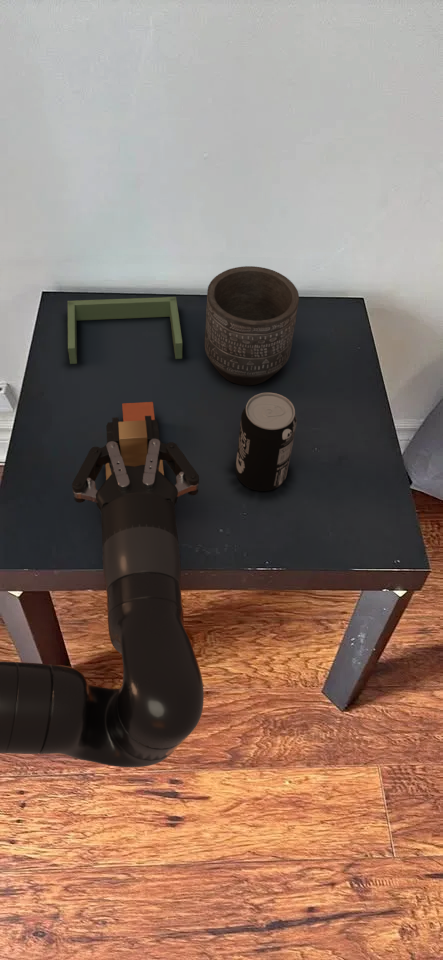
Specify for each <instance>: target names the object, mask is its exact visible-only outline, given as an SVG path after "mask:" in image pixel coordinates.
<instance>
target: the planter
mask: <svg viewBox="0 0 443 960" xmlns="http://www.w3.org/2000/svg"><path fill="white" fill-rule="evenodd" d="M206 293H207V294H206V308H205V309H206V310H205V311H206V312H205V327H204V328H205V329H204V351H205V354H206V356H207V358H208V360H209V361H210V363H211V364H212V366H213V367H214V368H215V370H217V372H218V373H219V374H220V375H221V377H223V378H224V379H226V380H227V381H228V382H231V383H233V384H236V385H240V386H257V385H260V384H261V383H264V382H267V380H270V378H272V377H274V375H275V374H277V373H278V372H279V371H280V370H282V369H283V368H284V366H285V365H286V364H287V362H288V361H289V359H290V356H291V352H292V346H293V340H294V339H293V338H294V333H295V329H296V321H297V315H298V308H299V302H300V295H299V294H300V293H299V291H298V288H297V287H296V285H295V284H294V283H293V282H292V280H290V278H288V277H287V276H285V275H283V274H282V273H280V272H278V271H276V270H273V269H270V268H266V267H262V266H254V265H253V266H251V265H249V266H248V265H245V266H236V267H233V268H229V269H227V270H224V271H222V272H220V273H219V274H217V275H216V276H214V277H213V278H212V280H211V281H210V283H209V285H208V286H207V292H206Z"/></svg>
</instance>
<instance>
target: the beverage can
mask: <svg viewBox="0 0 443 960" xmlns="http://www.w3.org/2000/svg"><path fill="white" fill-rule="evenodd" d="M297 425H298V418H297V415H296V410H295V406H294V403H292V401H291V400H290V399H288V398H287V397H286V396H285V395H282V394H279V393H276V392H260V393H258V394H255V395H254V396H252V397H251V398H249V399H248V401H247V403H246V405H245V406H244V408H243V409H242V412H241V415H240V425H239V431H238V432H239V433H238V442H237V451H236V460H235V461H236V462H235V474H236V477H237V479H238V480H239V481H240V482H241V483H242V484H243V485H244V486H245V487H247V488H248V489H251V490H254V491H257V492H266V491H267V492H268V491H272V490H275V489H277V488H279V487H280V486H281V485H283V484H284V482H285V480H286V478H287V475H288V470H289V466H290V460H291V456H292V450H293V445H294V441H295V435H296V429H297Z"/></svg>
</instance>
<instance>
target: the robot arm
mask: <svg viewBox="0 0 443 960" xmlns="http://www.w3.org/2000/svg"><path fill="white" fill-rule="evenodd" d="M111 420H112V421H111V422H107V424H106V426H105V427H106V444H105V445H104V446H102V447H99V446H93V447H91V448H90V449H89V451H88V452H87V454H86V457H85V459H84V460H83V462H82V464H81V466H80V468H79V469H78V472H77V474H76V476H75V477H74V478H73V481H72V483H71V487H72V494H73V500H74V501H75V502H76V503H78V504H81V503H84V502H85V501H88V502H92V503H96V507H97V508H98V510H99V511H100V516H101V517H100V520H101V521H100V522H101V543H102V544H101V545H102V546H101V547H102V559H101V564H102V570H103V580H104V583H105V584H104V585H105V590H106V606H107V607H106V610H107V630H108V635H109V640H110V642H111V645H112V647H113V648H114V650H115V651H116V652H118V653H119V654H120V655H121V660H122V684H121V686H120V688H119V687H118V688H113V687H111V688H110V687H104V686H99V685H94V684H89V683H88V682H87V679H86V677H85V675H84V673H82V672H81V670H79V669H77V668H75V667H72V666H68V665H61V664H52V663H50V664H48V663H40V662H39V663H37V662H23V661H7V660H5V661H4V660H1V661H0V754H9V755H10V754H11V755H12V754H14V755H64V756H67V757H70V758H74V759H78V760H81V761H87V762H91V763H96V764H100V765H105V766H110V767H117V768H144V767H150V766H154V765H157V764H159V763H162V762H163V761H165V760H166V759H168V758H170V756H171V755H172V754H173V753H174V752H175V751H176V750H177V749H178V748H179V747H180V746H181V745H182V744H183V743H184V742H185V741H186V740H187V739H188V737H189V736H190V735H192V733H193V732H194V731H195V729H196V728H197V727H198V725H199V723H200V722H201V719H202V715H203V712H204V711H203V710H204V700H205V699H204V697H205V695H204V693H205V691H204V681H203V676H202V672H201V669H200V665H199V662H198V659H197V656H196V653H195V650H194V647H193V644H192V641H191V639H190V636H189V634H188V632H187V629H186V628H185V627H186V626H185V623H184V622H185V621H184V620H185V617H184V608H183V606H184V605H183V598H182V588H181V575H182V569H181V568H182V563H181V553H180V546H179V536H178V527H177V518H176V508H175V507H176V505H177V503H178V500H179V497H181V496H183V495H185V494H188V495H190V496H196V495H197V494H198V493H199V483H200V482H199V481H200V475H199V474H198V472H197V471H196V470H195V468H194V466H193V465H192V464H191V462H190V461H189V460H188V458H187V457H186V456H185V454H184V453H183V451H182V450H181V448H180V447H179V446H178V445H177V443H176V442H174V441H173V442H172V441H169V442H168V443H164V442H162V441H161V439H160V430H159V429H160V428H159V422H158V421H157V420H156V419H155V420H151V416H145V420H146V428H147V442H148V453H147V456H146V463H145V465H140V466H136V467H133V466H125V465H124V462H123V459H122V456H121V454H120V442H119V426H118V422H120V421H119V417H118V416H117V417H115V416H114V417H112V418H111ZM160 460H163V462H164V461H165V462H166V464H167V465H168V466H169V468H170V469H171V471H172V473H173V474H174V475H175V481H176V482H175V484H174V483H173V482H172V481H171V480H169V478H167V477H166V476H165V474H164V475H163V474H162V473H161V472H160V471H159V464H160ZM107 463H109V466H110V469H111V473H112V474H111V475H110V477H109V478H108V479H107V480H106V479H105V481H104V482H103V484H102V485H101V486H100V487H99V489H97V487H96V486H97V485H96V480H97V478H98V476H99V474H100V472H101V470H102V468H103V467H104V465H106V464H107Z"/></svg>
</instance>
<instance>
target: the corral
mask: <svg viewBox="0 0 443 960" xmlns="http://www.w3.org/2000/svg"><path fill="white" fill-rule="evenodd" d="M145 318H146V319H147V318H169V321H170V329H171V336H172V337H171V338H172V344H173V352H174V359H175V360H182V359H183V337H182V336H183V335H182V329H181V324H180V323H181V322H180V315H179V309H178V301H177V297H176V296H161V297H136V298H135V297H134V298H133V297H132V298H111V299H109V298H108V299H83V300H81V299H79V300H67V352H68V359H69V365H76V364H78V333H77V332H78V329H77V328H78V327H77V326H78V325H77V324H78V323H77V321H95V320H96V321H101V320H121V319H123V320H125V319H145Z"/></svg>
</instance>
